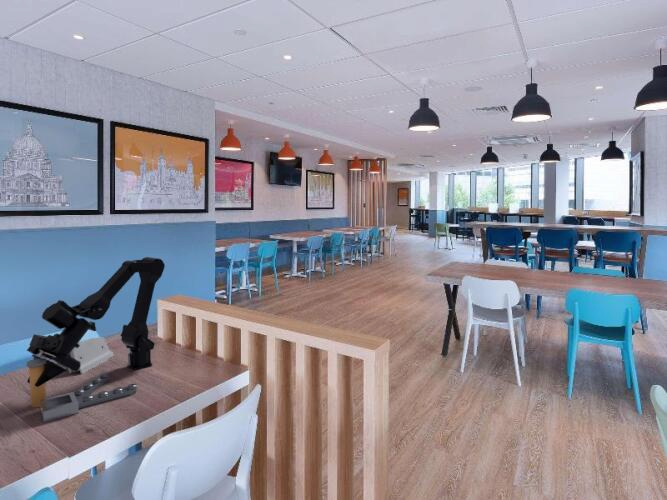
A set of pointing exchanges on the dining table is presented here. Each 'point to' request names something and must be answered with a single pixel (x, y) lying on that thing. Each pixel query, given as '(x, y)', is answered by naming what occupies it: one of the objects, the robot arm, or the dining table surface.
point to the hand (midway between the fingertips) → (32, 384)
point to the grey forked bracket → (82, 398)
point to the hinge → (91, 353)
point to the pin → (35, 372)
